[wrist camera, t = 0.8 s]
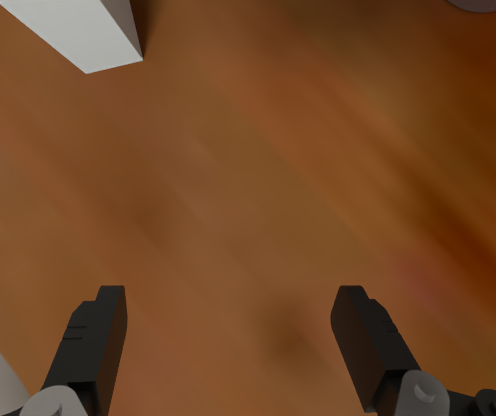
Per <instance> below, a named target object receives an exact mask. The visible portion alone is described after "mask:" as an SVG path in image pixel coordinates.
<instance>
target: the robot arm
mask: <svg viewBox="0 0 496 416" xmlns="http://www.w3.org/2000/svg"><path fill="white" fill-rule="evenodd" d="M448 1H449V2H450V3H452V4H454V5H455V6H457V7H459V8H461V9H464V10H468V11H471V12H481V13H484V12H492V11H496V0H448ZM331 327H332V330H333V333H334V335H335V338H336V341H337V343H338V346H339V348H340V351H341V353H342V356H343V358H344V361H345V364H346V366H347V369H348V371H349V374H350V376H351V379H352V381H353V384H354V387H355V389H356V392H357V394H358V397H359V399H360V402H361V404H362V407H363V410H364V412H365V413H370V412H377V414H378V416H496V391H495V390H492V389H482V390H480V391H479V392H478V393H477V394H476V396H475V397H472V396H468V395H464V394H460V393H457V392H453V391H449V390H446V389H445V387H444V386H443V385H442V384H441V383H440V382H439V381H438V380H437V379H436V378H435V377H433V376H432V375H430V374H428V373H426V372H424V371H422V370H421V369H420V367H419V365H418V364H417V362H416V360H415V358H414V357H413V355H412V353H411V352H410V350H409V348H408V347H407V345H406V343H405V341H404V340H403V338H402V336H401V335H400V333H398V329H397V328H396V326H395V324H394V323H393V322H392V319H391V318H390V316H389V314H388V312H387V311H386V309H385V308H384V307H383V306H382V305H380V304H379V303H378V302H377V301H376V300H375V299H369V298H368V296H367V294H366V292H365V290H364V289H363V287H362V286H340V288H339V290H338V293H337V296H336V299H335V302H334V305H333V308H332V311H331ZM126 331H127V307H126V297H125V288H124V286H101V287H100V289H99V292H98V295H97V297H96V300H95V301H83V302H82V303H81V305H80V306H79V307H78V308H77V309H76V310H75V311H74V312H73V313H72V315H71V318H70V320H69V323H68V325H67V329H66V330H65V333H64V335H63V338H62V341H61V343H60V345H59V347H58V350H57V352H56V355H55V357H54V360H53V362H52V365H51V367H50V370H49V372H48V375H47V377H46V380H45V382H44V384H43V386H42V388H41V390H40V391H39V392H38V393H36V394H35V395H34V396H32V397H31V398H30V399H29V400H28V401H27V402H26V404H25V405H24V406H23V407H21V408H19V409H18V410H16V411H13V412H11V413H8V414H5V415H2V416H108V412H109V408H110V403H111V399H112V394H113V390H114V385H115V381H116V376H117V372H118V367H119V363H120V358H121V354H122V349H123V345H124V340H125V336H126Z"/></svg>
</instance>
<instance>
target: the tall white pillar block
mask: <svg viewBox="0 0 496 416" xmlns="http://www.w3.org/2000/svg"><path fill="white" fill-rule="evenodd" d="M0 4H1V5H2V6H3V7H4V8H5V9H7V10H8V11H9V12H10V13H12V14H13V15H14V16H15V17H17V18H18V19H19V20H20V21H21V22H23V23H24V24H25V25H26V26H28V27H29V28H30V29H31V30H33V31H34V32H35V33H36V34H38V35H39V36H40V37H41V38H42V39H44V40H45V41H46V42H47V43H49V44H50V45H51V46H52V47H54V48H55V49H56V50H57V51H58V52H60V53H61V54H62V55H63V56H65V57H66V58H67V59H68V60H70V61H71V62H72V63H73V64H74V65H76V66H77V67H78V68H79V69H81V70H82V71H83V72H84V73H86V74H87V73H92V72H96V71H100V70H104V69H109V68H113V67H117V66H121V65H126V64H130V63H134V62H138V61H143V57H142V53H141V48H140V44H139V40H138V36H137V31H136V27H135V23H134V19H133V14H132V10H131V6H130V2H129V0H0Z"/></svg>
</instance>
